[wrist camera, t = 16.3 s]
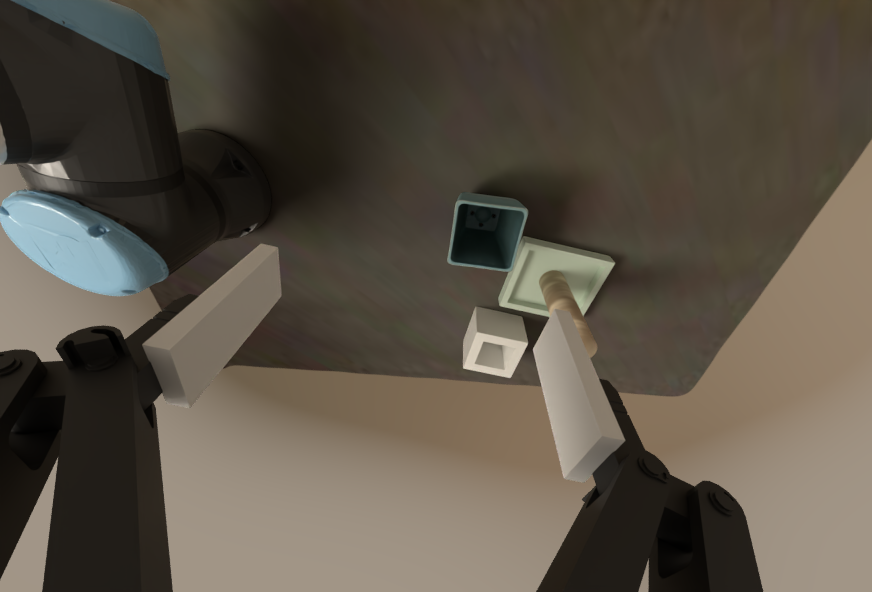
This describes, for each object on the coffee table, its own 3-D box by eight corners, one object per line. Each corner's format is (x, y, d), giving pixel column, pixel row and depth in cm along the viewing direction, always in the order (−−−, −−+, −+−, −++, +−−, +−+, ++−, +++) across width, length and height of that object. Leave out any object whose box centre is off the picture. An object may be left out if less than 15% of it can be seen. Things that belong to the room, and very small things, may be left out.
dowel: (535, 288, 54) (557, 357, 41) (544, 267, 52) (571, 334, 39) (558, 293, 55) (587, 364, 41) (568, 273, 52) (603, 341, 39)
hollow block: (463, 341, 63) (463, 368, 57) (475, 306, 58) (476, 332, 53) (506, 350, 64) (510, 378, 58) (522, 316, 59) (528, 343, 53)
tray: (498, 298, 57) (499, 305, 55) (523, 235, 50) (525, 242, 48) (575, 315, 58) (578, 323, 56) (609, 256, 51) (615, 263, 49)
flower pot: (457, 178, 46) (455, 199, 39) (519, 187, 46) (529, 209, 39) (449, 236, 51) (446, 264, 44) (505, 243, 51) (512, 272, 44)
